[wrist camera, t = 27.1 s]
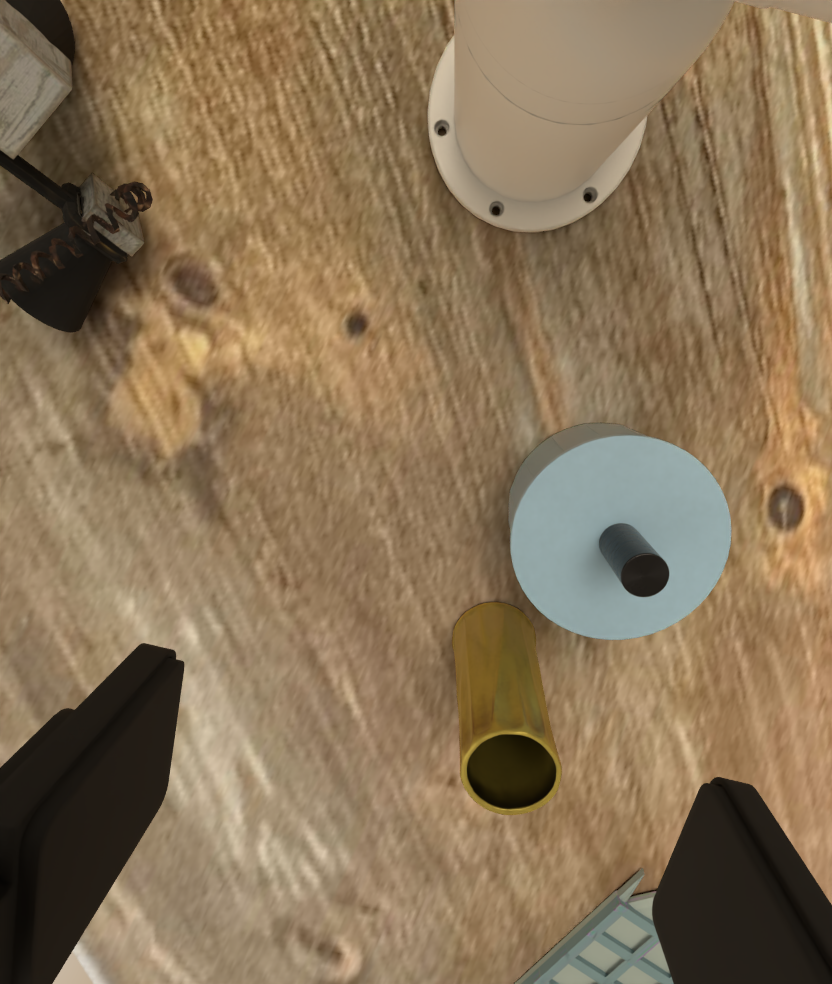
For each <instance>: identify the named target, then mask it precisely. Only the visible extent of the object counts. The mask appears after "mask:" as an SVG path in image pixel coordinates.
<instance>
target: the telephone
mask: <svg viewBox="0 0 832 984" xmlns="http://www.w3.org/2000/svg"><path fill="white" fill-rule="evenodd" d="M74 53H75V41H74V34H73V30H72V26H71V22H70V20H69V17H68V14H67V12H66V10H65V8H64V6H63V4H62V3H61V1H60V0H0V165H1V166H2V167H3V168H5V169H6V170H8V171H9V172H10V173H12V174H13V175H14V176H16V177H17V178H19V179H20V180H21V181H23V182H24V183H25V184H27V185H28V186H30V187H31V188H32V189H34V190H35V191H37V192H38V193H39V194H41V195H42V196H43V197H45V198H46V199H48V200H49V201H50V202H52V203H53V204H55V205H56V206H57V207H59V208H60V209H62V212H63V220H64V222H65V223H63V224H61V225H60V226H58V227H56V228H55V229H53V230H51V231H49V232H48V233H46V234H44V235H43V236H41V237H39V238H37V239H36V240H34V241H32V242H30V243H29V244H27V245H25V246H24V247H22V248H20V249H19V250H17V251H15V252H13V253H12V254H10V255H8V256H7V257H5V258H3V259H1V260H0V296H1V297H2V299H3V300H4V301H5V302H6V303H7V304H9V301H10V300H11V299H12V300H13V301H14V302H15V303H16V304H17V305H18V306H19V307H21V308H22V309H23V310H24V311H26V312H27V313H28V314H30V315H31V316H33V317H34V318H36V319H38V320H39V321H41V322H43V323H45V324H46V325H48V326H51V327H53V328H55V329H58V330H61V331H65V332H77V331H79V330H80V329H81V327H82V325H83V322H84V320H85V318H86V316H87V314H88V312H89V309H90V307H91V305H92V303H93V301H94V299H95V296H96V294H97V292H98V290H99V288H100V286H101V284H102V281H103V279H104V277H105V275H106V273H107V271H108V269H109V266H110V264H111V262H112V261H114V262H116V263H118V264H119V263H122V262H125V261H127V257H128V254H129V255H130V256H133V255H134V254H135V253H136V252H137V251H138V249H139V248H140V247H141V246H142V245H143V244H144V239H143V234H142V230H141V225H140V220H139V212H138V211H141V212H143V211H145V210H147V209H149V208H150V207H151V204H152V200H153V199H152V196H151V192H150V190H149V189H148V188H147V187H146V186H145V185H144V184H143V183H138V182H132V183H129V184H123V185H121V186H118V188H117V190H113V189H112V188H110V187H109V186H108V185H107V184H106V183H104V182H103V181H102V180H101V179H99V178H98V177H97V176H96V175H95V174H93V173H91V175H90V176H89V177H88V178H87V179H86V180H85V181H84V182H83V184H82V185H81V186H80V188H79V187H77V186H75V185H73V184H71V183H66V184H63V185H62V188H61V187H60V186H58V185H57V184H56V183H54V182H53V181H52V180H50V179H49V178H48V177H46V176H45V175H44V174H43V173H41V172H40V171H39V170H37V169H36V168H35V167H33V166H32V165H31V164H29V163H28V162H27V161H25V160H24V159H23V158H21V157H20V156H19V155H18V154H19V153H20V152H21V150H22V149H23V148H24V147H25V146H26V144H27V143H28V142H29V141H30V140H31V138H32V137H33V136H34V135H35V134H36V132H37V131H38V130H39V129H40V128H41V126H42V125H43V124H44V123H45V121H46V120H47V119H48V118H49V117H50V115H51V114H52V113H53V112H54V111H55V109H56V108H57V107H58V106H59V105H60V103H61V102H62V101H63V100H64V99H65V97H66V96H67V95H68V94H69V92H70V91H71V90H72V89H73V88H72V73H71V66H72V63H73V59H74ZM141 190H142V191H144V192H146V195H147V196H146V198H145V195H144V193H143V192H142V191H141ZM130 191H132V192H133V193H134V194H135V195H136V196H137V197H138V203H136V201H135V199H134V197H133V195H132V194H131V192H130ZM81 211H82V213H81Z"/></svg>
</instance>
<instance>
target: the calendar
mask: <svg viewBox="0 0 832 984" xmlns="http://www.w3.org/2000/svg"><path fill="white" fill-rule="evenodd" d="M643 876H644V871H643V868H642V869H641V870H640V871H638V872H637V873H636V874H635V875H634V876H633V877H632V878H631V879H630V880H629V881H628V882H627V883H625V884H624V885H623V886H622V887H621V888H620V889H619V890H618V891H617V890H616V891H615V892H613V893H612V894H611V895H610V896H609V897H608V898H607V899H606V900H605V901H604V902H603V903H601V904H600V905H599V906H598V907H597V908H596V909H595V910H594V911H593V912H592V913H591V914H590V915H588V916H587V917H586V918H585V919H584V920H583V921H582V922H581V923H580V924H579V925H578V926H576V927H575V928H574V929H573V930H572V931H571V932H570V933H569V934H568V935H567V936H566V937H565V938H563V939H562V940H561V941H560V942H559V943H558V944H557V945H556V946H555V947H554V948H553V949H551V950H550V951H549V952H548V953H547V954H546V955H545V956H544V957H543V958H542V959H541V960H540V961H538V962H537V963H536V964H535V965H534V966H533V967H532V968H531V969H530V970H529V971H528V972H526V973H525V974H524V975H523V976H522V977H521V978H520V979H519V980H518V981H517V982H516V983H514V984H674V983H673V980H672V977H671V974H670V971H669V968H668V965H667V962H666V959H665V956H664V953H663V950H662V947H661V944H660V941H659V938H658V935H657V932H656V929H655V926H654V923H653V918H652V904H653V899H654V896H655V894H656V891H654V892H649V893H645V894H641V895H636V896H632V897H630V896H631V895H632V893H633V892H634V890H635V888H636V887H637V885H638V884H639V882H640V881H641V879H642V878H643Z"/></svg>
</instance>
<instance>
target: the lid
mask: <svg viewBox="0 0 832 984" xmlns="http://www.w3.org/2000/svg"><path fill="white" fill-rule="evenodd" d="M730 543H731V519H730V513H729V509H728V504H727V502H726V499H725V497H724V494H723V491H722V490H721V488H720V486H719V484H718V483H717V481H716V479H715V478H714V477H713V475H712V474H711V473H710V472H709V470H708V469H707V468H706V467H705V466H704V465H703V464H702V463H701V462H700V461H699V460H698V459H696V458H695V457H694V456H692V455H691V454H689V453H688V452H687V451H685V450H683V449H681V448H679V447H677V446H675V445H674V444H672V443H669V442H666V441H664V440H661V439H658V438H654V437H649V436H645V435H635V434H615V435H608V436H602V437H597V438H594V439H591V440H587V441H584V442H582V443H579V444H577V445H575V446H573V447H571V448H569V449H567V450H565V451H564V452H562V453H561V454H559V455H557V456H556V457H555V458H553V459H552V460H551V461H550V462H548V463H547V464H546V465H545V466H544V467H543V468H542V469H541V470H540V471H539V472H538V473H537V474H536V475H535V476H534V478H533V479H532V480H531V482H530V483H529V484H528V486H527V487H526V489H525V491H524V492H523V494H522V496H521V498H520V500H519V502H518V505H517V507H516V509H515V512H514V516H513V520H512V524H511V532H510V552H511V558H512V564H513V567H514V571H515V574H516V577H517V579H518V581H519V584H520V586H521V588H522V590H523V591H524V593H525V594H526V596H527V597H528V599H529V600H530V601H531V603H532V604H533V605H534V606H535V607H536V608H537V609H538V610H539V611H540V612H541V613H542V614H543V615H544V616H546V617H547V618H548V619H549V620H551V621H552V622H554V623H556V624H557V625H559V626H561V627H563V628H565V629H567V630H569V631H571V632H574V633H577V634H580V635H582V636H587V637H591V638H596V639H606V640H624V639H631V638H638V637H642V636H646V635H650V634H653V633H655V632H658V631H661V630H663V629H665V628H667V627H669V626H671V625H673V624H675V623H677V622H678V621H680V620H681V619H683V618H684V617H686V616H687V615H689V614H690V613H691V612H692V611H693V610H694V609H695V608H697V607H698V606H699V605H700V604H701V603H702V601H703V600H704V599H705V598H706V597H707V596H708V595H709V593H710V592H711V590H712V589H713V588H714V586H715V585H716V583H717V581H718V579H719V578H720V576H721V574H722V572H723V569H724V567H725V564H726V561H727V558H728V554H729V549H730Z"/></svg>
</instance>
